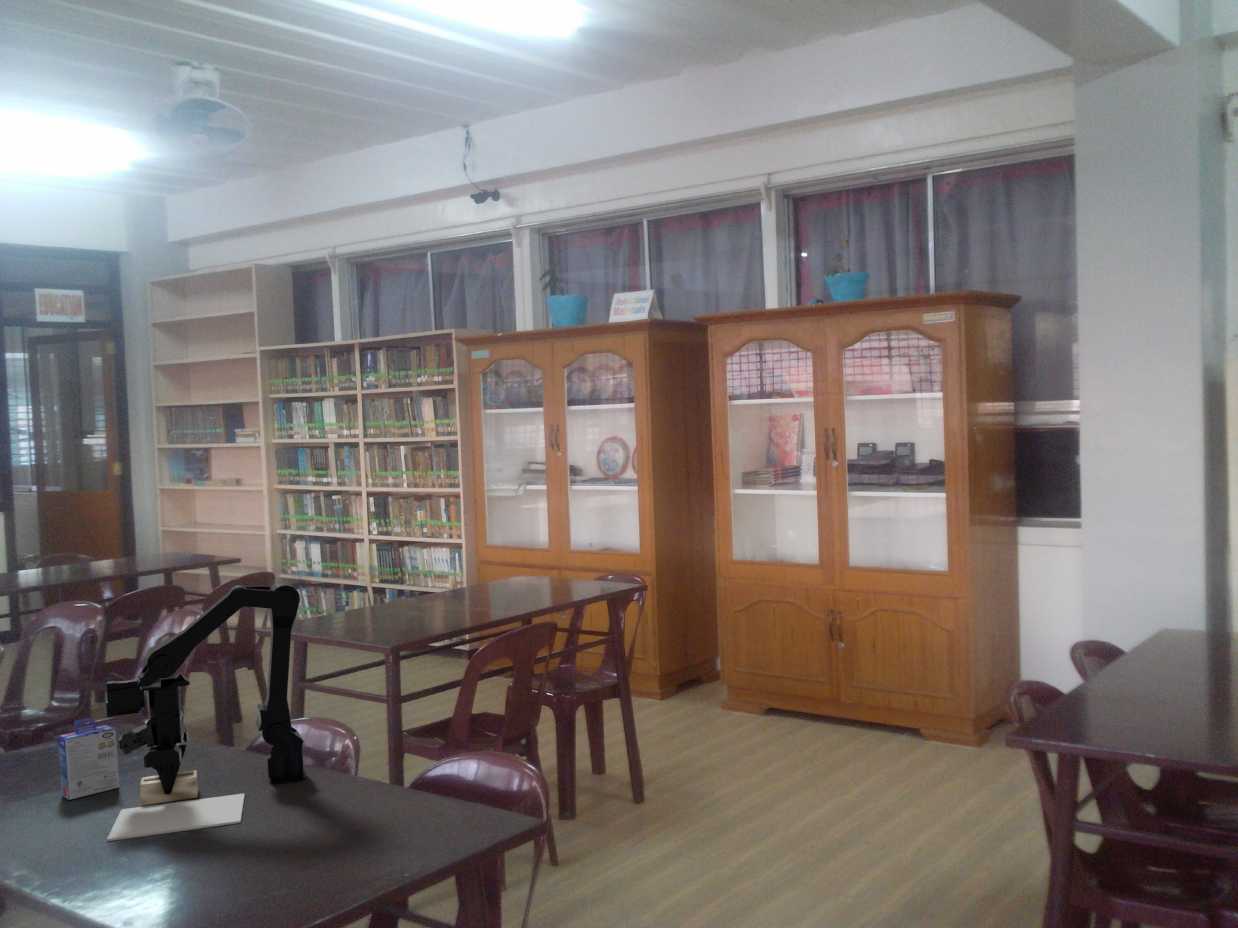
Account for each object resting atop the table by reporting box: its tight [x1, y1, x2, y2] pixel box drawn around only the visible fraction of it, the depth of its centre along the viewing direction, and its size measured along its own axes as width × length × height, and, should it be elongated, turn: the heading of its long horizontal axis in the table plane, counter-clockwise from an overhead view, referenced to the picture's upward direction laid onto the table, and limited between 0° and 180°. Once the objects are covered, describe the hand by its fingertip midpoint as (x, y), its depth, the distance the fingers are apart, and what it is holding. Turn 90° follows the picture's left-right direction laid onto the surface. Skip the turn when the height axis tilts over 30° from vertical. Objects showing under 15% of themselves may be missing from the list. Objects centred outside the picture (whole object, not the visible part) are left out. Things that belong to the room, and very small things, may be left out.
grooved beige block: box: [139, 769, 199, 807], centre depth 211 cm, size 10×5×4 cm, turn 110°
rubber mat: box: [106, 793, 246, 842], centre depth 199 cm, size 22×16×1 cm
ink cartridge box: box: [57, 717, 120, 801], centre depth 217 cm, size 10×6×14 cm, turn 135°
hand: (169, 789), depth 211 cm, fingers closed on grooved beige block, 5 cm apart
